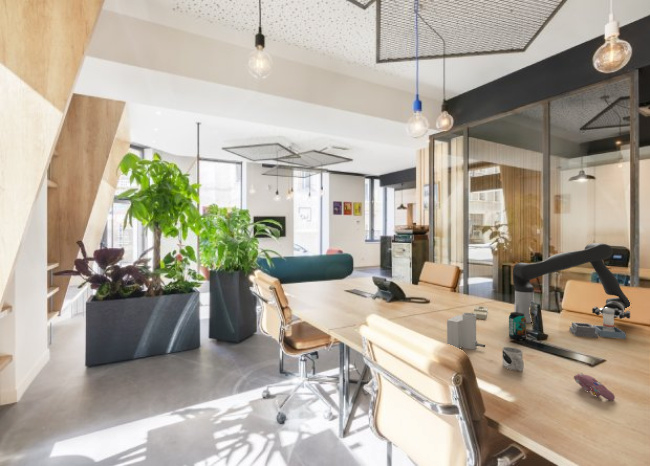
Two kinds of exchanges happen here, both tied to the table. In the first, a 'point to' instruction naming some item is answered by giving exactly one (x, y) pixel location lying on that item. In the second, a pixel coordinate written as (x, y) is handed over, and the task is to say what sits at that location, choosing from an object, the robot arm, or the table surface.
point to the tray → (610, 332)
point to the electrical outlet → (481, 312)
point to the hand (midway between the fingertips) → (608, 315)
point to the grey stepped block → (462, 331)
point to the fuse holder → (583, 330)
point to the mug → (513, 358)
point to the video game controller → (593, 386)
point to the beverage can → (517, 325)
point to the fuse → (608, 319)
